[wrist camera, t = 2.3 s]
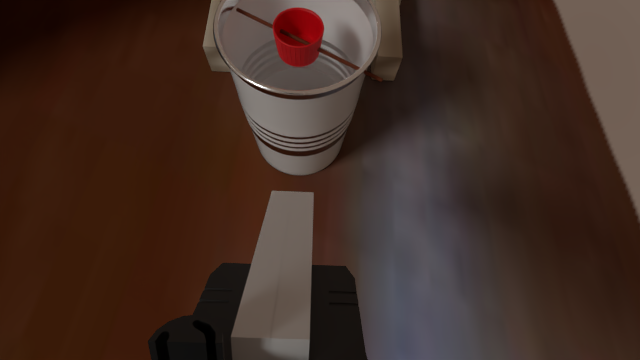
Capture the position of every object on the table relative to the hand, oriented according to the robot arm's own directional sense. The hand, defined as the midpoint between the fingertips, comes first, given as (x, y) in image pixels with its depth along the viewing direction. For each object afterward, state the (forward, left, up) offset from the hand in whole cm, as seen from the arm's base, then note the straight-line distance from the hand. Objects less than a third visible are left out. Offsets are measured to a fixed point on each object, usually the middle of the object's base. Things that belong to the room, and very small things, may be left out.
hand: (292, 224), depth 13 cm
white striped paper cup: (0, +10, -13) cm, 17 cm away
